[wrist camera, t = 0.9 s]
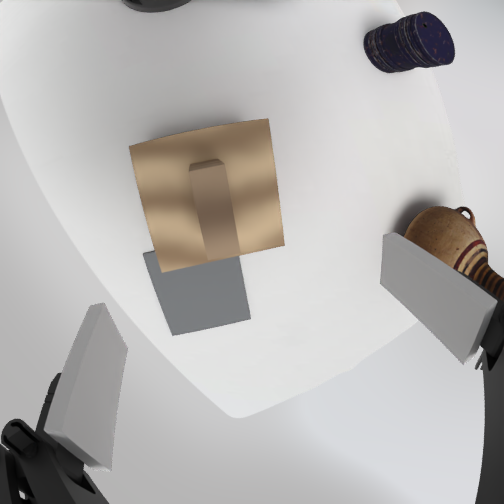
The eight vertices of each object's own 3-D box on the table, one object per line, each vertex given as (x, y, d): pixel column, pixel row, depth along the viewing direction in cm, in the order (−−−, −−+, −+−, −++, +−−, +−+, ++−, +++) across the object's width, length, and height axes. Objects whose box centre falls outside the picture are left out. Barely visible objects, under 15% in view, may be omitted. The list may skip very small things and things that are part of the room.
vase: (427, 177, 51) (541, 220, 24) (449, 231, 58) (537, 284, 31) (366, 242, 54) (474, 325, 27) (396, 290, 61) (478, 367, 34)
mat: (143, 253, 45) (142, 254, 45) (234, 232, 47) (234, 234, 47) (172, 333, 53) (172, 335, 52) (250, 317, 55) (250, 318, 54)
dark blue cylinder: (406, 50, 39) (458, 40, 25) (394, 83, 41) (449, 77, 28) (371, 20, 35) (420, 0, 22) (356, 52, 38) (408, 35, 25)
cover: (149, 143, 39) (110, 149, 19) (244, 124, 40) (289, 113, 21) (170, 232, 45) (156, 305, 26) (258, 213, 47) (305, 271, 27)
